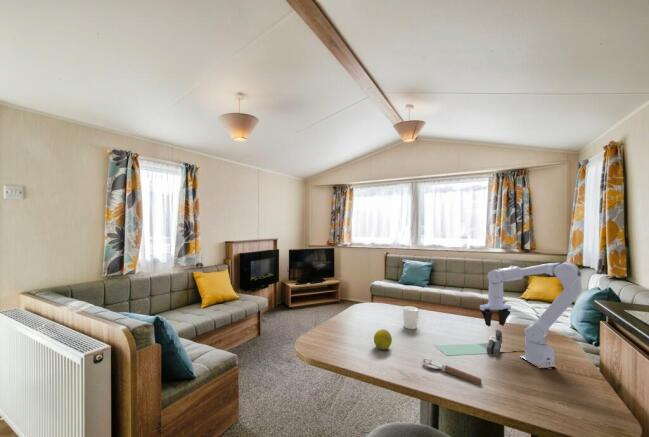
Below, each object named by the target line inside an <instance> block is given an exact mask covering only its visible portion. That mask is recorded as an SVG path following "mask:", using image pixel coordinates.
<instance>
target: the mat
mask: <svg viewBox="0 0 649 437" xmlns="http://www.w3.org/2000/svg"><path fill="white" fill-rule="evenodd" d="M488 343H489V342H488ZM488 343H487V342H486V343H483V342H482V343H465V344H464V343H463V344H446V345H440V344H439V345H435V348H437V349H438V350H439V351H440V352H441V353H443V354H444V355H445V356H449V357H450V356H469V355H482V354H483V355H484V354H486V355H487V354H488V353H487V346H488ZM494 346H495V343H494ZM493 349H494V347H493ZM499 352H500V351H499ZM492 354H493V351H492ZM488 355H489V354H488Z"/></svg>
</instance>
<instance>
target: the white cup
mask: <svg viewBox="0 0 649 437" xmlns="http://www.w3.org/2000/svg"><path fill="white" fill-rule="evenodd" d="M402 311H403V312H402V313H403V314H402V315H403V326H404V327H405V328H406V329H409V330H417V328H418V321H419V320H418V319H419V308H418V307H415V306H411V305H409V306H408V305H406V306H405V305H404V306H403V308H402Z"/></svg>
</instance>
